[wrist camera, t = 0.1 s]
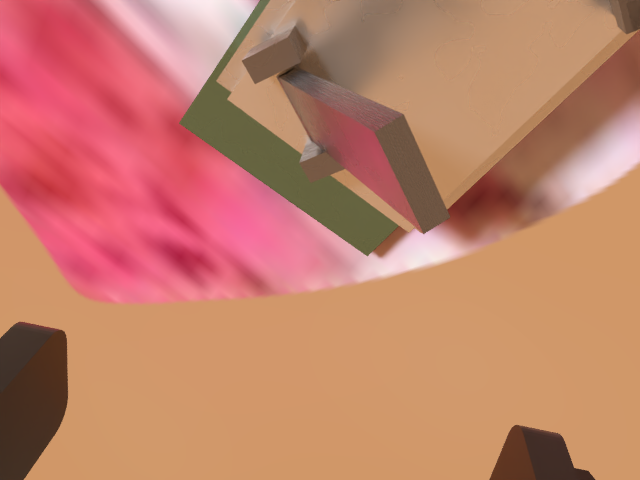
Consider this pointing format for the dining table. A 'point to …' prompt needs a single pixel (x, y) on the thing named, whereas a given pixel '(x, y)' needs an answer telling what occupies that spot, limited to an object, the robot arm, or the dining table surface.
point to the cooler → (401, 89)
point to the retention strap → (367, 144)
